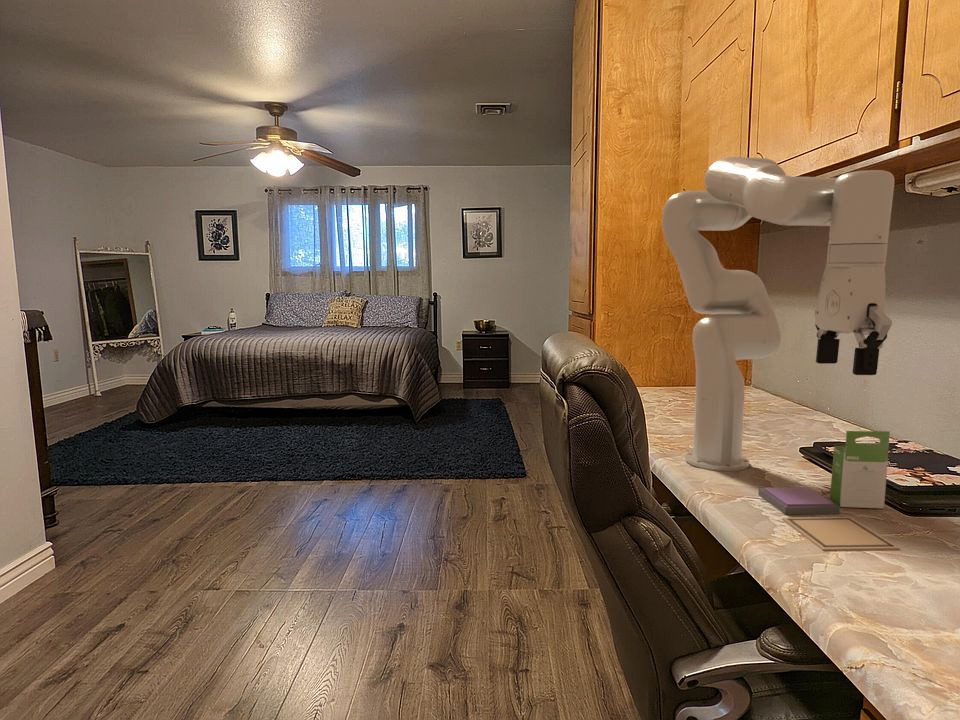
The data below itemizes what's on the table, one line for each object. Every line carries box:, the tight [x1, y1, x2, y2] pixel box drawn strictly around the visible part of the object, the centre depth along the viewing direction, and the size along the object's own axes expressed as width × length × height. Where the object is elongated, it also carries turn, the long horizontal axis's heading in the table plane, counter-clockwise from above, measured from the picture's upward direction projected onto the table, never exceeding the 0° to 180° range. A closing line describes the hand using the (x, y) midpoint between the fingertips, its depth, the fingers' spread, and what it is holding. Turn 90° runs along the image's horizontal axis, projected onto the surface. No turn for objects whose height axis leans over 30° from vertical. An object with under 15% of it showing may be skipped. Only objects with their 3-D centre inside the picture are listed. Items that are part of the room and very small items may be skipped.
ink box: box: [829, 430, 891, 510], centre depth 98 cm, size 7×4×13 cm, turn 81°
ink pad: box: [757, 486, 841, 515], centre depth 99 cm, size 9×9×2 cm
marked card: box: [781, 516, 901, 552], centre depth 87 cm, size 11×11×1 cm
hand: (844, 368), depth 90 cm, fingers open, 9 cm apart
